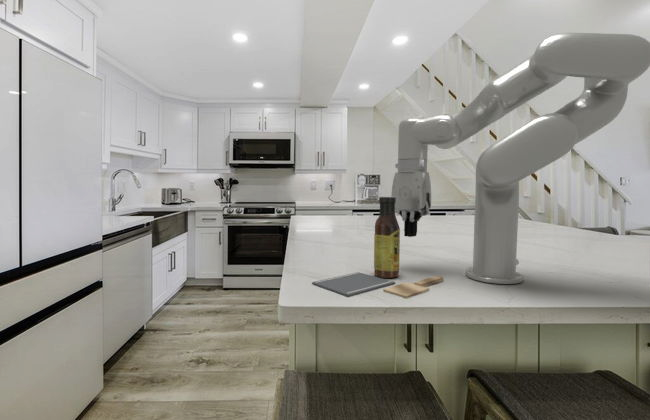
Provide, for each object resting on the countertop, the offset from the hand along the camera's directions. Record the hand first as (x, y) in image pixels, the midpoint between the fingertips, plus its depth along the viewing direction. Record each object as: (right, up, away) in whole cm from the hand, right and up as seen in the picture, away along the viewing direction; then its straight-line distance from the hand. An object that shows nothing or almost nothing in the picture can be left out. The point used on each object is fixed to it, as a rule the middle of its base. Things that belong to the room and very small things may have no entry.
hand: (410, 235), depth 93 cm
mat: (-16, -10, -13) cm, 23 cm away
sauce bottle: (-7, -10, -6) cm, 14 cm away
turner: (-3, -10, -16) cm, 19 cm away
